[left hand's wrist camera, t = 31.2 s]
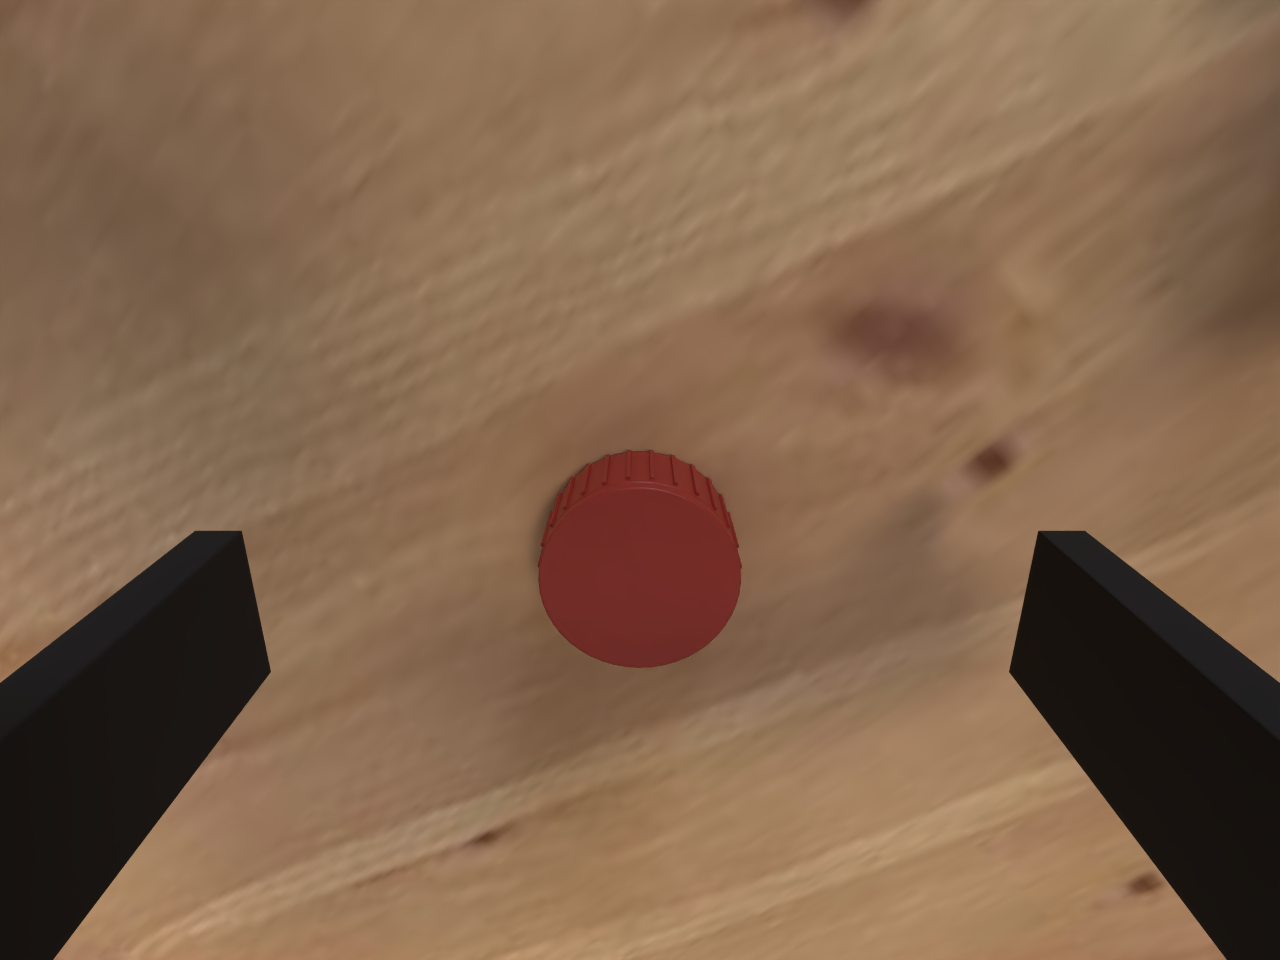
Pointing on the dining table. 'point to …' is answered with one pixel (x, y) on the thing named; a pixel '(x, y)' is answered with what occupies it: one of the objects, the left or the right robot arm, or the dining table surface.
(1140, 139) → the dining table surface
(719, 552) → the cap
